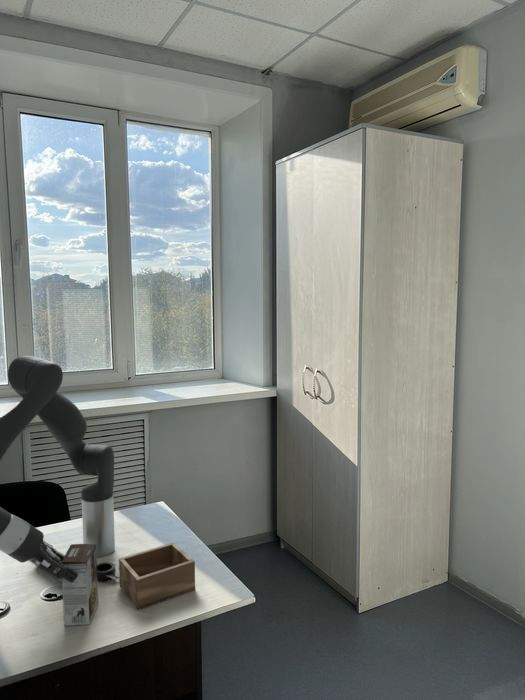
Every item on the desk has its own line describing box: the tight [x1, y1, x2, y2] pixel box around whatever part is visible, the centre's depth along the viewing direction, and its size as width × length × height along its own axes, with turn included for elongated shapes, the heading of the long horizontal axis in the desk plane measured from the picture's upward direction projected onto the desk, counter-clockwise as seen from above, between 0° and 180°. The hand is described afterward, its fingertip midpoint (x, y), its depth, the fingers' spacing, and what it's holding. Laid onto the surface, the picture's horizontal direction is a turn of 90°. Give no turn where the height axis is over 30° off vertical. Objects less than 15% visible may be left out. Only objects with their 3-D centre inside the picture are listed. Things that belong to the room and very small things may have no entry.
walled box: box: [118, 542, 196, 611], centre depth 140 cm, size 13×16×8 cm
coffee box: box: [61, 543, 99, 626], centre depth 129 cm, size 9×6×16 cm
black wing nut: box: [97, 561, 120, 583], centre depth 147 cm, size 8×10×3 cm
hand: (70, 570), depth 127 cm, fingers open, 8 cm apart
